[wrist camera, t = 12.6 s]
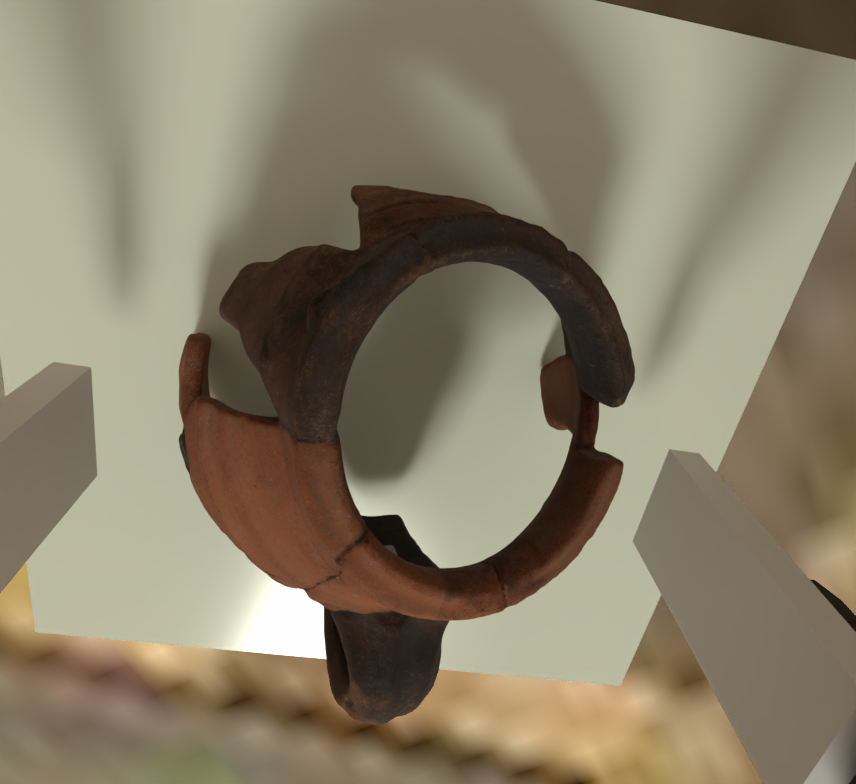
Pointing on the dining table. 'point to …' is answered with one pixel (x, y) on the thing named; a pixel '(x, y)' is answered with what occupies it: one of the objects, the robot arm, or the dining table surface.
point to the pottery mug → (321, 449)
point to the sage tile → (419, 303)
